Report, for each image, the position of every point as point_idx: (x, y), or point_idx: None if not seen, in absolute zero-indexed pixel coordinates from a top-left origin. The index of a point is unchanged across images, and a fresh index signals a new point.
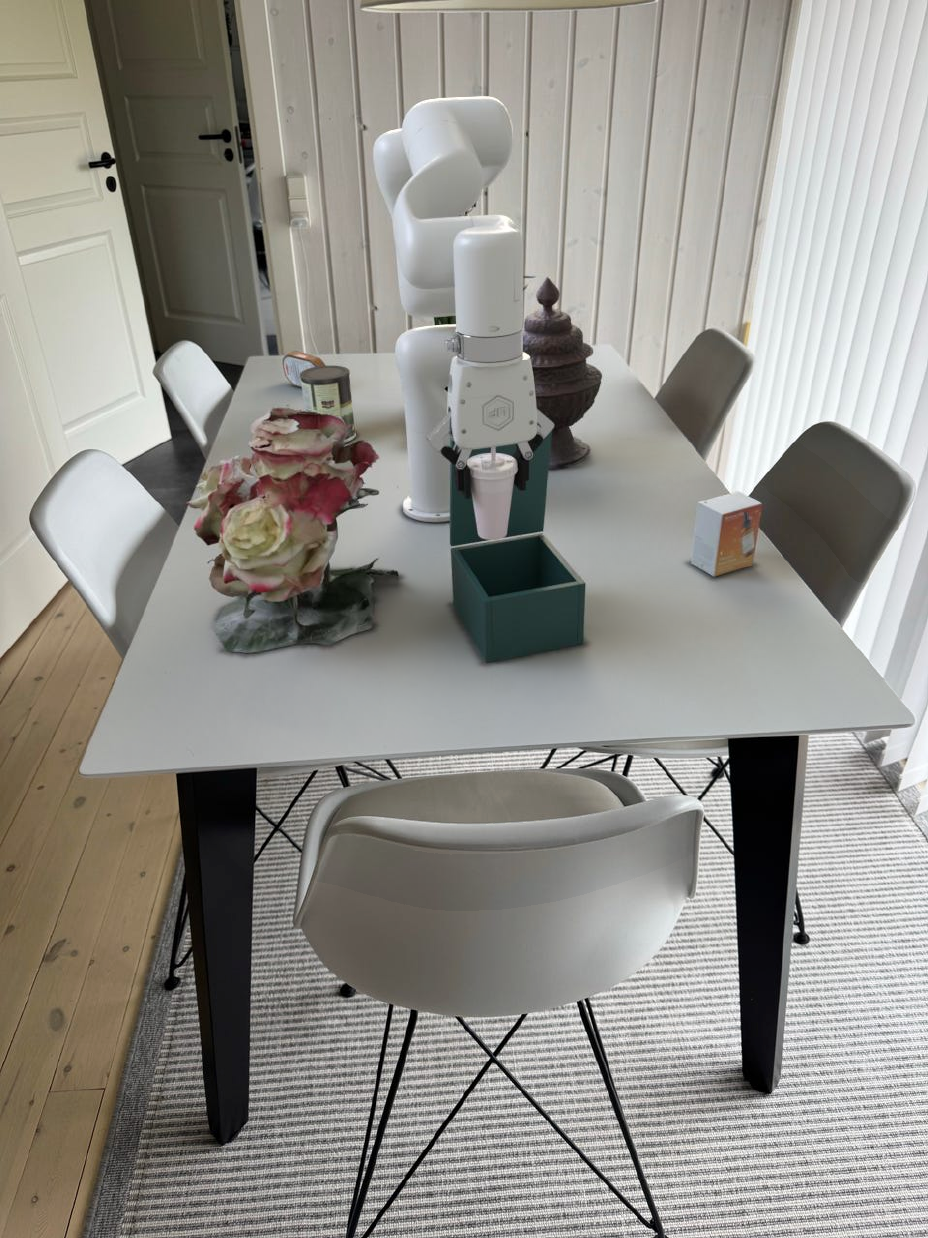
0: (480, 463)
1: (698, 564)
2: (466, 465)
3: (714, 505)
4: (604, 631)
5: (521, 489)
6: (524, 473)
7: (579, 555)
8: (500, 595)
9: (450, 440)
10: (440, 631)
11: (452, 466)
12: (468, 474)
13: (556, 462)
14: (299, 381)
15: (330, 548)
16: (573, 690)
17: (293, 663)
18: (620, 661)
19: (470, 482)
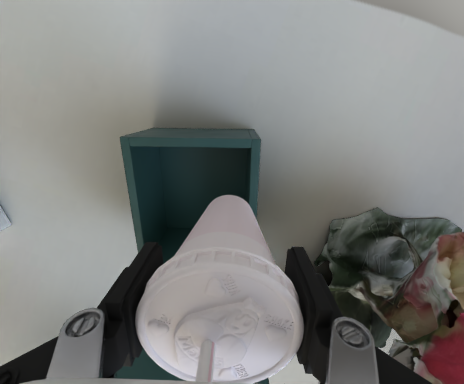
0: (254, 339)
1: (2, 216)
2: (317, 332)
3: None
4: None
5: (156, 244)
6: (130, 270)
7: (113, 269)
8: (236, 146)
9: None
10: (275, 195)
11: (267, 380)
12: (313, 294)
13: None
14: None
15: (441, 277)
16: (187, 48)
17: (417, 191)
18: (125, 83)
19: (299, 275)
